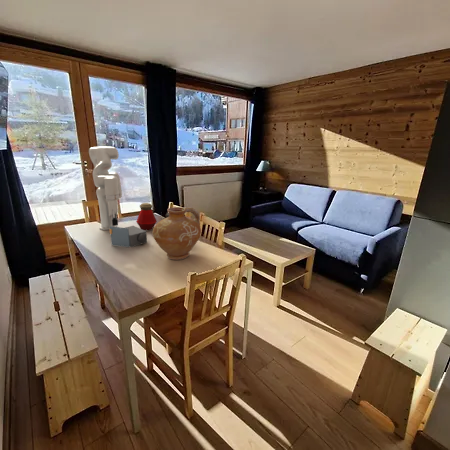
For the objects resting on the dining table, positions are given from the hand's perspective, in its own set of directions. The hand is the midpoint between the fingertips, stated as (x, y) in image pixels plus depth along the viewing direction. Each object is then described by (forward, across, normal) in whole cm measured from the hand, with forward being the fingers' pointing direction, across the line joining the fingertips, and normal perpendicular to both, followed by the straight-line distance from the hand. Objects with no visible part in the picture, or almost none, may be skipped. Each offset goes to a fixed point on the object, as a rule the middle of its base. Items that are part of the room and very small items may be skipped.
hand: (115, 225), depth 161 cm
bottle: (+13, -28, +21) cm, 37 cm away
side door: (+13, +5, +2) cm, 14 cm away
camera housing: (+13, -2, +10) cm, 17 cm away
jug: (+14, +28, +35) cm, 47 cm away
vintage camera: (+14, -4, +39) cm, 42 cm away
